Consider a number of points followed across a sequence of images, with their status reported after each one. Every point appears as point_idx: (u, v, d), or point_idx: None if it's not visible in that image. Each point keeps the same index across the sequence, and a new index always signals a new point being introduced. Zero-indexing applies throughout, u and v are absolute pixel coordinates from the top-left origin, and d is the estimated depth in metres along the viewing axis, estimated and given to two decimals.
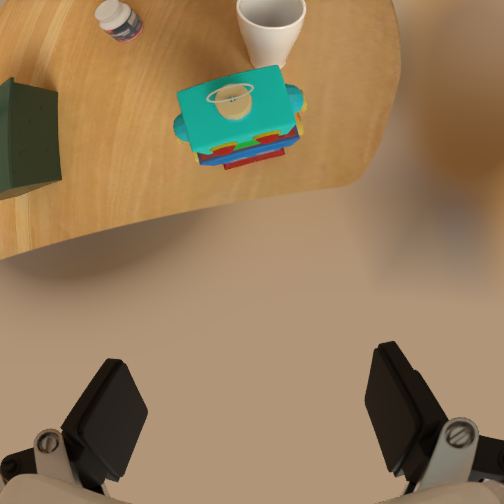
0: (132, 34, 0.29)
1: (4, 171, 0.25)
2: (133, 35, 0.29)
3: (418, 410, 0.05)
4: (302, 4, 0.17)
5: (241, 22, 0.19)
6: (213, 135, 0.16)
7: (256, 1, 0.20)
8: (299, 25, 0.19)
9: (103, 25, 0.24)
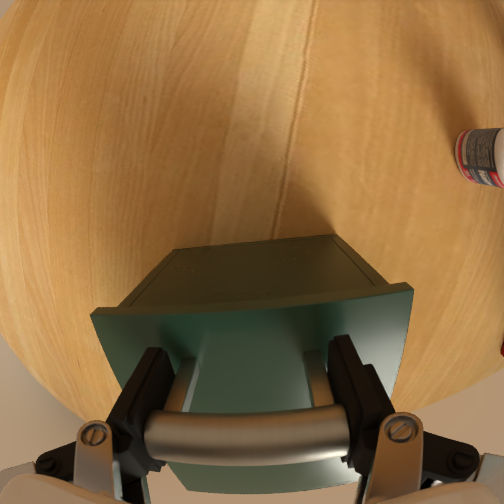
0: None
1: (348, 471, 0.14)
2: None
3: (359, 400, 0.06)
4: None
5: None
6: None
7: None
8: None
9: None
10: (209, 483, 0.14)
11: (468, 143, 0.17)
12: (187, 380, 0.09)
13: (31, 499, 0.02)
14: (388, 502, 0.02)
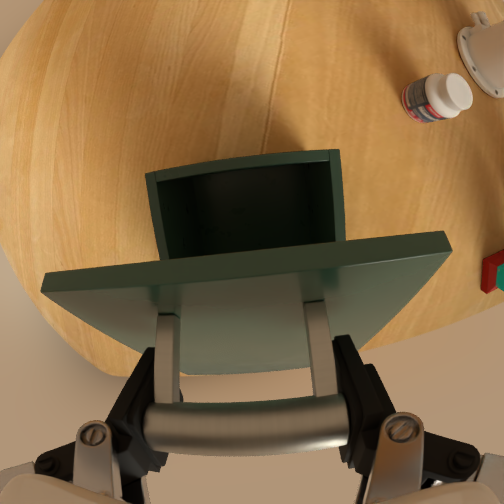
0: None
1: None
2: None
3: (359, 401, 0.06)
4: None
5: None
6: None
7: None
8: None
9: (441, 106, 0.20)
10: (206, 371, 0.20)
11: (409, 90, 0.23)
12: (170, 353, 0.08)
13: (31, 499, 0.02)
14: (388, 502, 0.02)
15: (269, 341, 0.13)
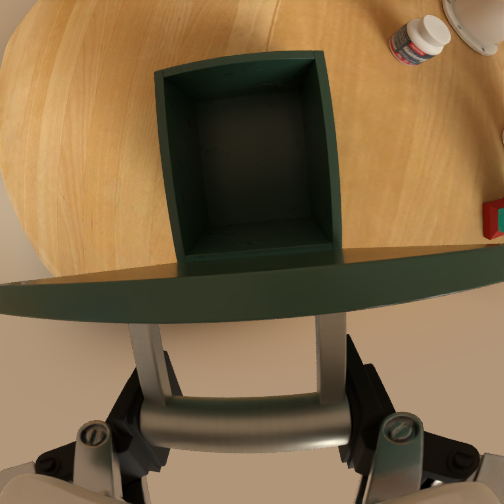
0: (421, 62, 0.24)
1: None
2: None
3: (359, 400, 0.06)
4: None
5: None
6: None
7: None
8: None
9: (422, 42, 0.19)
10: None
11: (394, 35, 0.22)
12: (150, 355, 0.07)
13: (31, 499, 0.02)
14: (388, 502, 0.02)
15: None
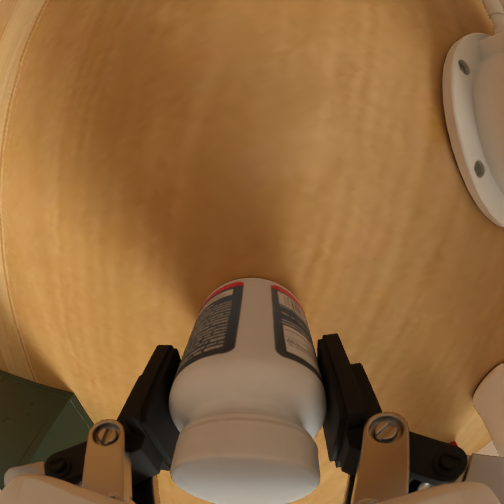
0: None
1: None
2: None
3: (344, 400, 0.06)
4: None
5: None
6: None
7: None
8: None
9: None
10: None
11: None
12: None
13: (31, 499, 0.02)
14: (388, 502, 0.02)
15: None
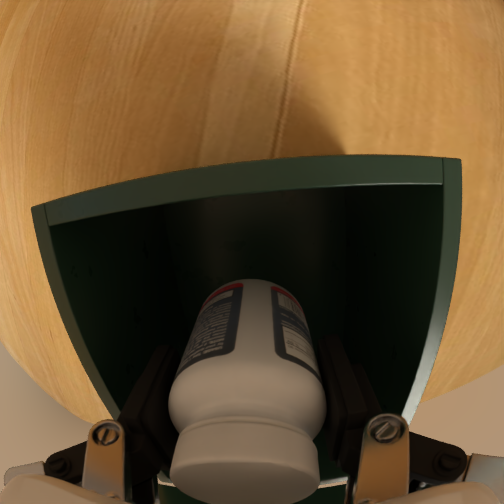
0: None
1: None
2: None
3: (344, 399, 0.06)
4: None
5: None
6: None
7: None
8: None
9: None
10: None
11: None
12: None
13: (31, 499, 0.02)
14: (388, 502, 0.02)
15: None
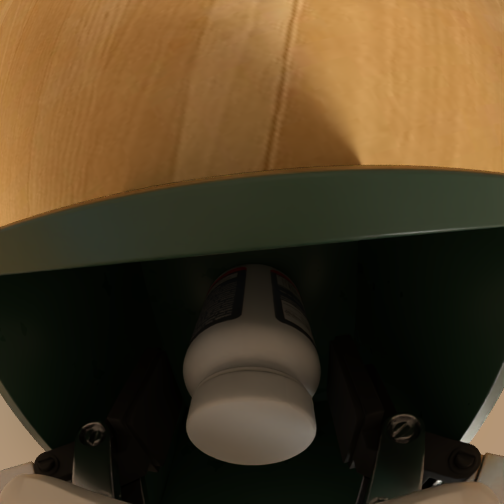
0: None
1: None
2: None
3: (360, 401, 0.06)
4: None
5: None
6: None
7: None
8: None
9: None
10: None
11: None
12: None
13: (31, 499, 0.02)
14: (388, 502, 0.02)
15: None
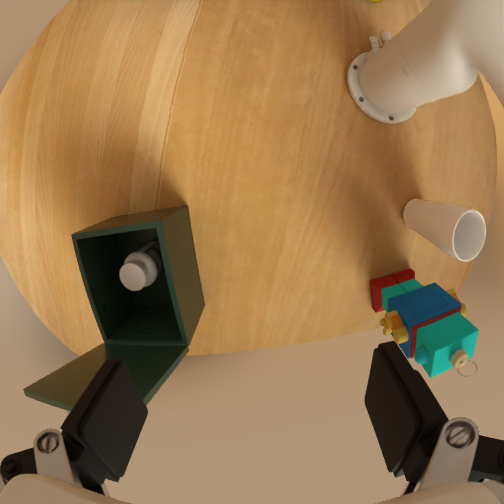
0: None
1: None
2: None
3: (418, 410, 0.05)
4: (484, 234, 0.25)
5: (448, 247, 0.27)
6: (442, 370, 0.24)
7: None
8: (475, 249, 0.27)
9: None
10: None
11: None
12: None
13: (31, 499, 0.02)
14: (388, 502, 0.02)
15: None
